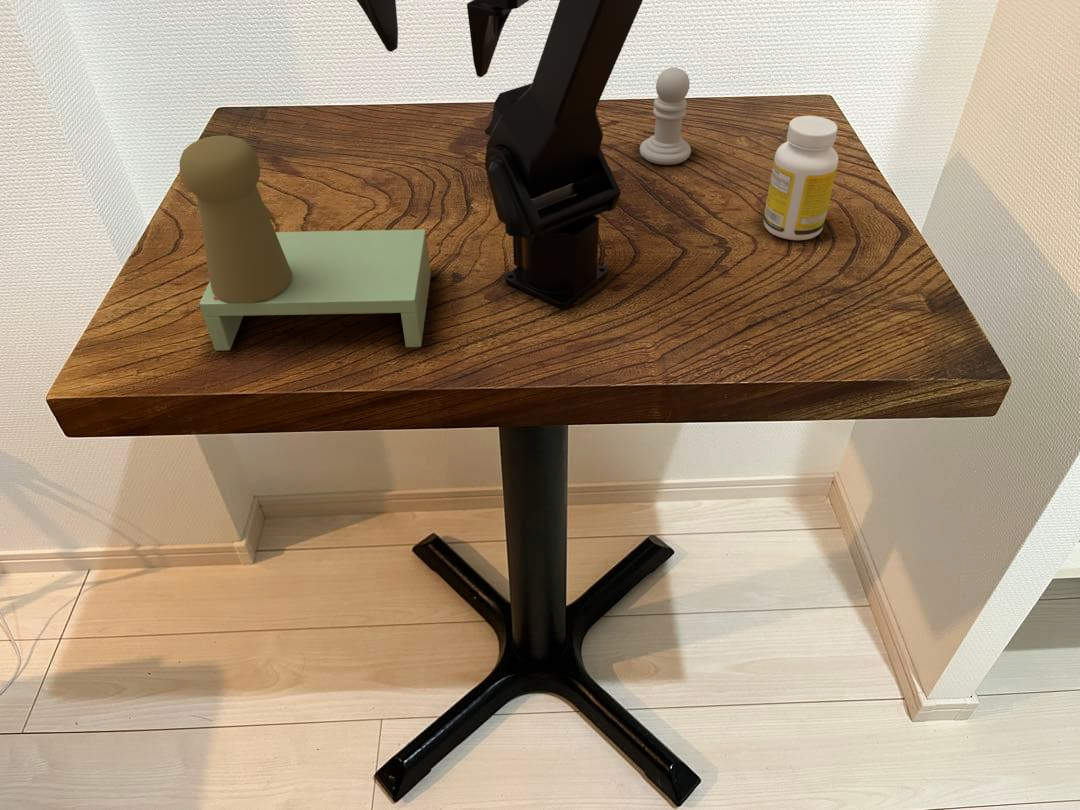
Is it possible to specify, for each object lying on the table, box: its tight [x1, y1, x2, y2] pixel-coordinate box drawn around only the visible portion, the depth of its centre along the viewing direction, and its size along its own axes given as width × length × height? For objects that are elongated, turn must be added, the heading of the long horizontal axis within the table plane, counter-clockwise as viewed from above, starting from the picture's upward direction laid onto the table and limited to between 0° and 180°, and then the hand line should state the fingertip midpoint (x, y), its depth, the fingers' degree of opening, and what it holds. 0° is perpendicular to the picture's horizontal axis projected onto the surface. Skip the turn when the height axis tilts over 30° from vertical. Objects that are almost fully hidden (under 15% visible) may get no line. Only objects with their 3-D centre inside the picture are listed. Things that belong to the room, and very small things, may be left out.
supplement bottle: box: [763, 115, 839, 241], centre depth 76 cm, size 5×5×10 cm
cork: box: [179, 134, 292, 303], centre depth 62 cm, size 6×6×11 cm
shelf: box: [199, 228, 432, 352], centre depth 69 cm, size 10×16×5 cm, turn 91°
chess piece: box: [639, 67, 692, 166], centre depth 87 cm, size 5×5×9 cm
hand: (436, 62), depth 74 cm, fingers open, 9 cm apart
